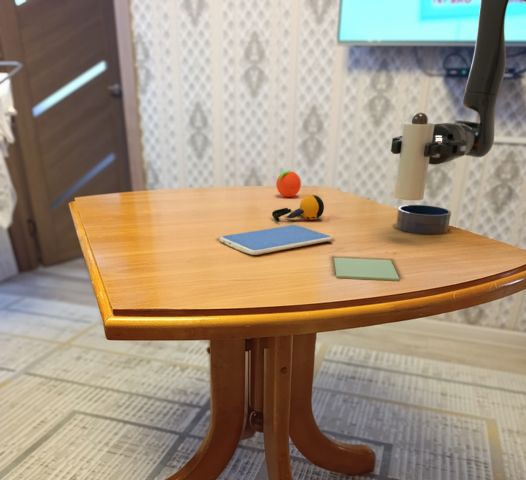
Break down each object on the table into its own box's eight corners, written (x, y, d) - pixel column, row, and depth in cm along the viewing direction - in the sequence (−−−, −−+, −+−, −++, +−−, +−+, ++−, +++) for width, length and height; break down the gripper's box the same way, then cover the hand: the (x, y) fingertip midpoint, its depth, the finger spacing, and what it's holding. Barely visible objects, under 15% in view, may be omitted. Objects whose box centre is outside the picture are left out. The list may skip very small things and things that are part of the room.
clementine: (288, 200, 139) (289, 173, 136) (268, 197, 143) (269, 170, 140) (305, 196, 145) (306, 170, 141) (285, 193, 149) (286, 168, 145)
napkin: (390, 262, 90) (390, 260, 90) (399, 281, 81) (399, 278, 81) (333, 259, 91) (334, 257, 91) (336, 278, 82) (336, 275, 82)
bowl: (440, 225, 116) (444, 205, 114) (452, 238, 106) (456, 216, 104) (392, 223, 117) (394, 203, 115) (399, 235, 107) (402, 214, 105)
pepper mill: (420, 195, 100) (433, 112, 93) (425, 200, 95) (439, 113, 88) (392, 194, 100) (403, 111, 93) (396, 199, 95) (407, 112, 88)
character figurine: (284, 233, 114) (331, 213, 116) (275, 209, 113) (322, 189, 115) (272, 235, 124) (315, 217, 126) (263, 213, 122) (307, 195, 124)
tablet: (253, 257, 91) (253, 250, 90) (217, 241, 100) (217, 235, 99) (333, 243, 101) (334, 236, 100) (294, 229, 110) (295, 223, 109)
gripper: (412, 121, 106) (376, 124, 94) (483, 125, 98) (453, 128, 86) (407, 159, 109) (371, 167, 97) (475, 166, 101) (445, 175, 89)
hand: (410, 149), depth 91 cm, fingers closed on pepper mill, 5 cm apart
